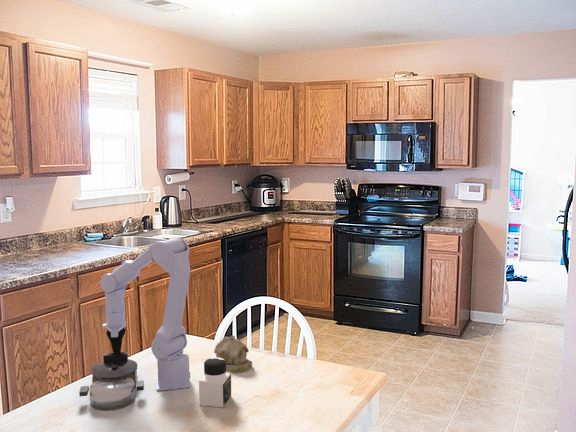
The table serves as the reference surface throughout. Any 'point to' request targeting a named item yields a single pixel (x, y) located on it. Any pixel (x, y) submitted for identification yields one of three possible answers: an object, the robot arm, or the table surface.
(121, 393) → the cooker
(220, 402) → the medicine bottle
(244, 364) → the ceramic model
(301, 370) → the table surface
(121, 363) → the lid
